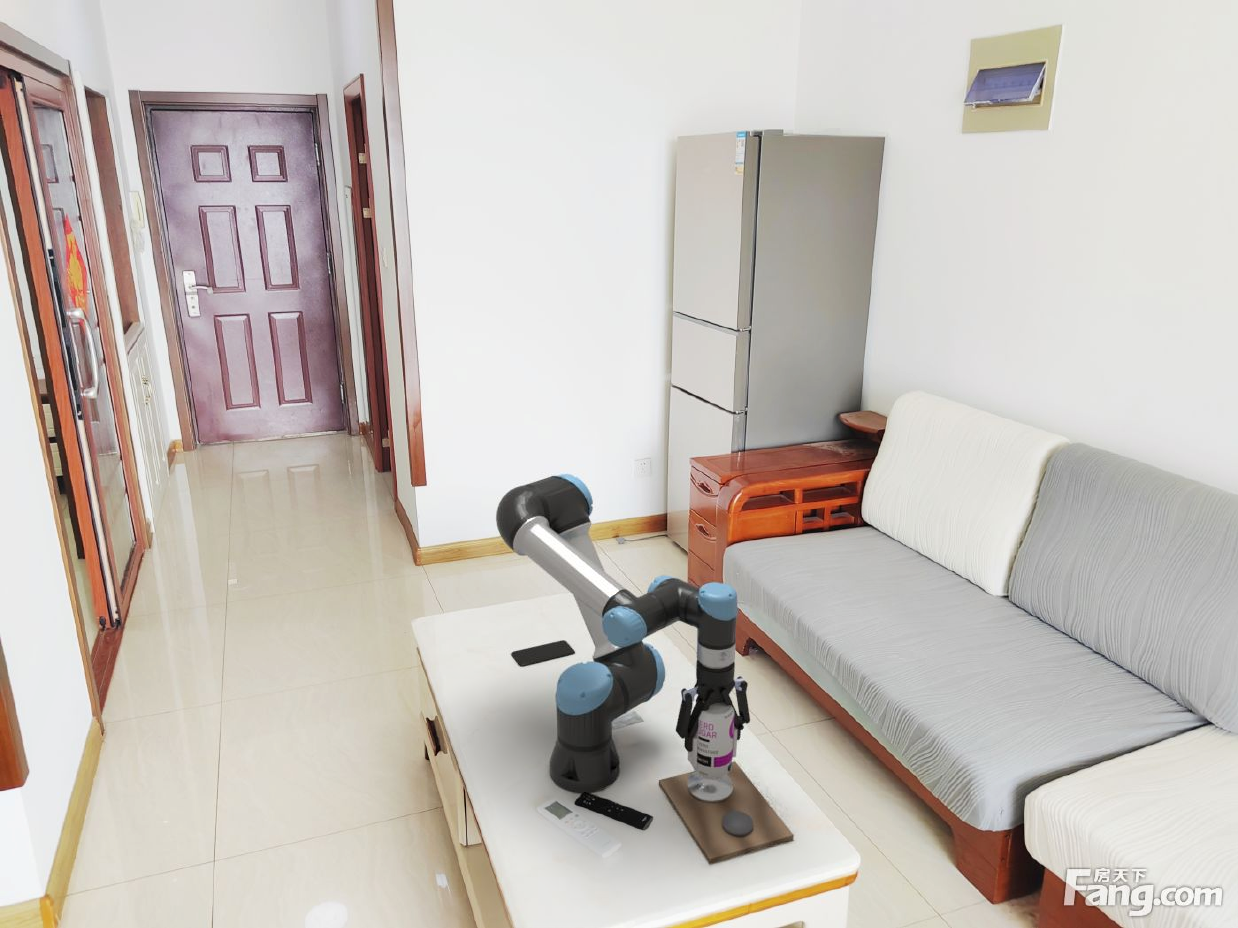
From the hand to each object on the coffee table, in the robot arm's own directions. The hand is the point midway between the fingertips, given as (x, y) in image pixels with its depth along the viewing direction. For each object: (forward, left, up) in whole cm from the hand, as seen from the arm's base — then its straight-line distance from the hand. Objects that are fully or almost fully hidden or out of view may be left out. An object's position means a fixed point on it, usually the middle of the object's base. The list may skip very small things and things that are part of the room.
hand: (711, 757), depth 180 cm
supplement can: (0, 0, -2) cm, 2 cm away
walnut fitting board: (0, -6, -9) cm, 10 cm away
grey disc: (0, -12, -7) cm, 14 cm away
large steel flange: (0, 0, -7) cm, 7 cm away
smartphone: (-17, +66, -9) cm, 69 cm away
